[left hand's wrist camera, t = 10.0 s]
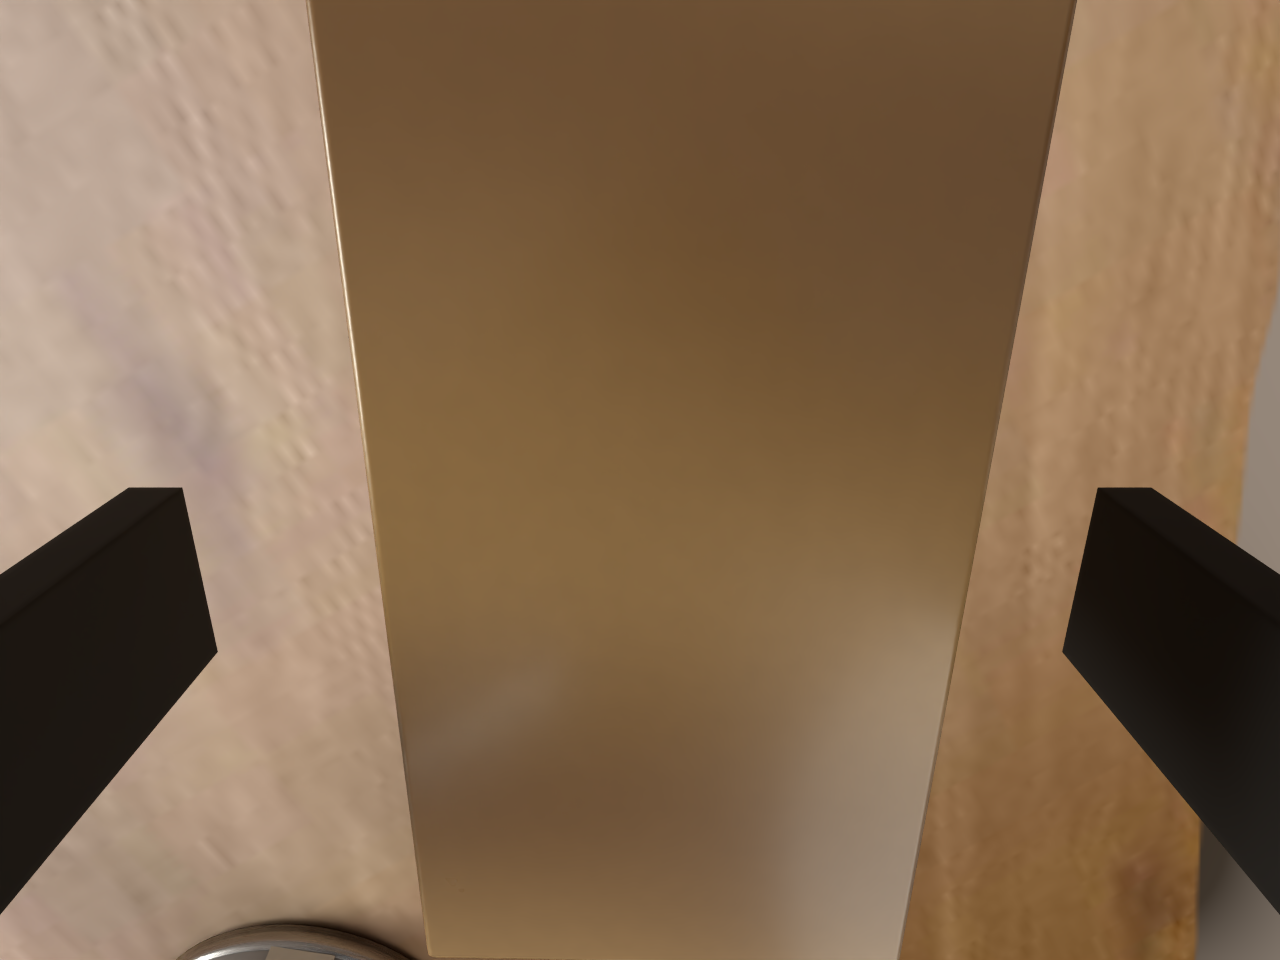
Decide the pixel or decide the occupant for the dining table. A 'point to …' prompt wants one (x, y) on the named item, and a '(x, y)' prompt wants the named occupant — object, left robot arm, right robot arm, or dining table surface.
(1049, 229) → the dining table surface
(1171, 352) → the dining table surface
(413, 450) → the bar
